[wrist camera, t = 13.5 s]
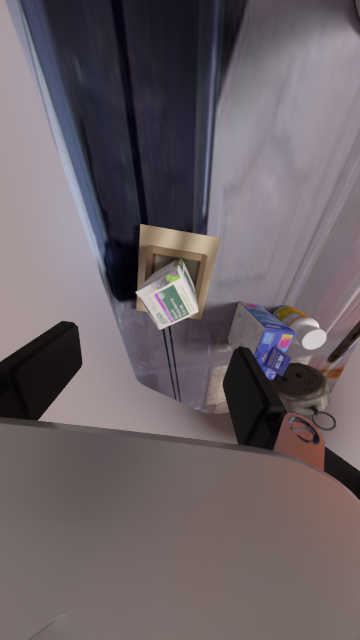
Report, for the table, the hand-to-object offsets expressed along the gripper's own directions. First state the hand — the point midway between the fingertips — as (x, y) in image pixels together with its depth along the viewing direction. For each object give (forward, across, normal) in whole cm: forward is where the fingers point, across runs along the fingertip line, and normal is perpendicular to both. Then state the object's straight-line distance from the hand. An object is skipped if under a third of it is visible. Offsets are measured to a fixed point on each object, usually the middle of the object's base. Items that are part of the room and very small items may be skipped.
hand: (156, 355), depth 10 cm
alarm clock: (+26, -30, +18) cm, 44 cm away
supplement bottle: (+26, -25, +5) cm, 37 cm away
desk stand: (+26, 0, 0) cm, 26 cm away
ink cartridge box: (+26, -17, +8) cm, 32 cm away
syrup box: (+25, 0, 0) cm, 25 cm away
